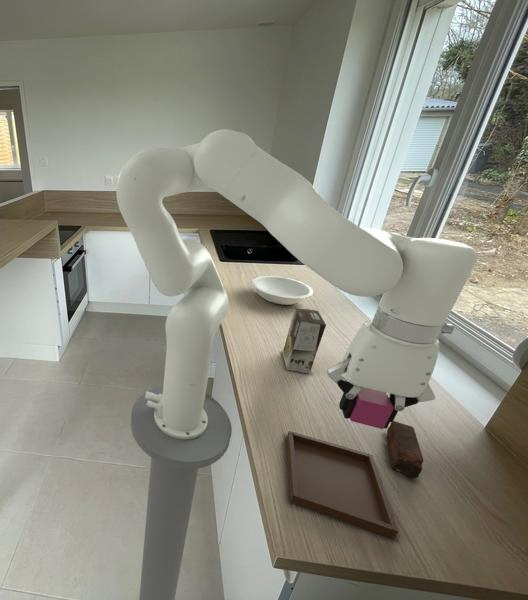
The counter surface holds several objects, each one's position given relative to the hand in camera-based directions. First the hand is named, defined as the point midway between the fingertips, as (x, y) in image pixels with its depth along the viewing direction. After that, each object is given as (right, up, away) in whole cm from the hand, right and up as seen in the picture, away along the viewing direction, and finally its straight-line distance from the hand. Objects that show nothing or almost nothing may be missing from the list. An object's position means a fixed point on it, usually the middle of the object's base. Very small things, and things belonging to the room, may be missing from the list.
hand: (363, 416), depth 55 cm
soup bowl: (+23, +20, +81) cm, 87 cm away
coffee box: (+10, +1, +41) cm, 43 cm away
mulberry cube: (0, 0, 0) cm, 0 cm away
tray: (-1, -15, +7) cm, 17 cm away
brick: (+17, -13, +13) cm, 25 cm away
